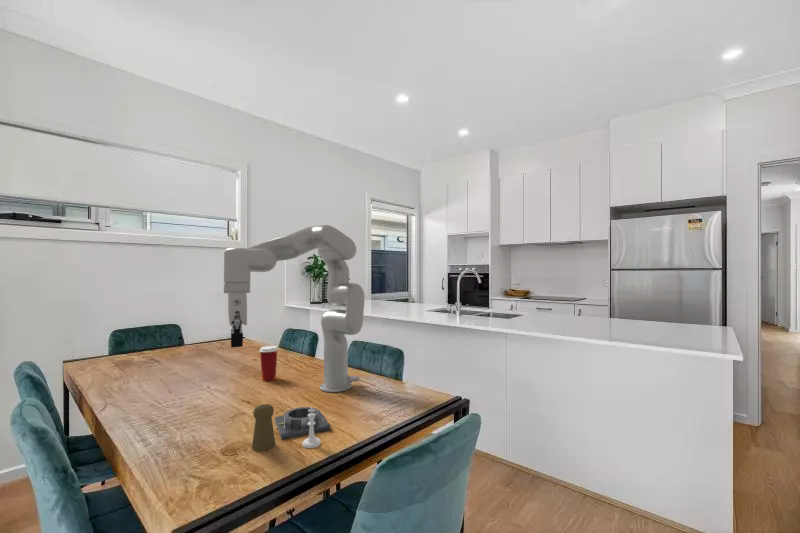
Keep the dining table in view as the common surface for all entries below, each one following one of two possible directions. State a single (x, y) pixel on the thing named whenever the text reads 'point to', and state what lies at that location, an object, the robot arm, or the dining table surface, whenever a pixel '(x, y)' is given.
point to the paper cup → (268, 362)
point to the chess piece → (311, 433)
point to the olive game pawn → (263, 428)
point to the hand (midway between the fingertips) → (236, 344)
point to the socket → (300, 422)
